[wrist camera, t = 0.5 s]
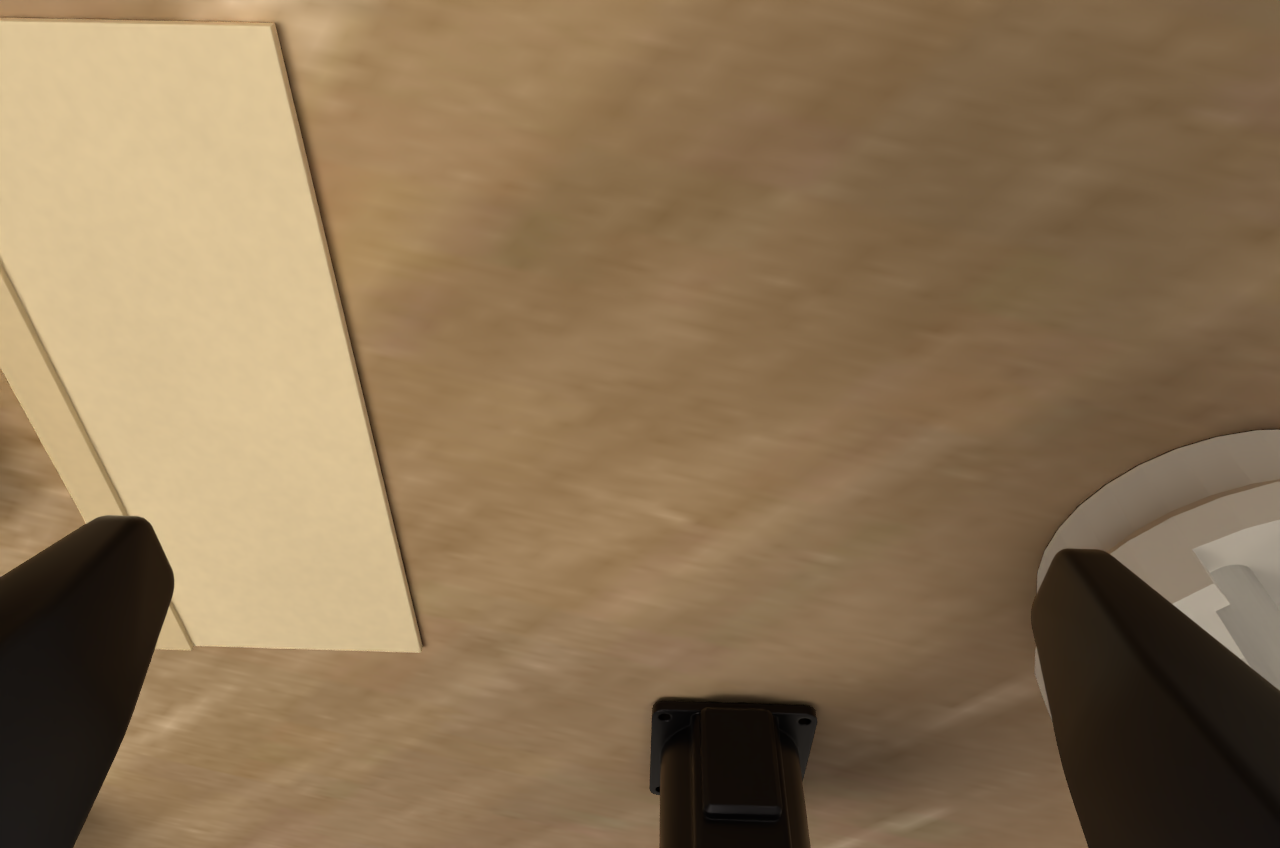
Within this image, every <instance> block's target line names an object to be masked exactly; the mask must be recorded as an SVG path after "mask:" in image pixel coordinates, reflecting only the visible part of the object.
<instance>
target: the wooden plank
mask: <svg viewBox="0 0 1280 848" xmlns="http://www.w3.org/2000/svg"><path fill="white" fill-rule="evenodd" d="M0 368H1V370H2V372H3V374H4V375H5V377H6V379H7V381H8V383H9V385H10V386H11V388H12V390H13V392H14V394H15V395H16V397H17V399H18V401H19V403H20V405H21V406H22V408H23V410H24V412H25V414H26V415H27V417H28V419H29V421H30V423H31V425H32V426H33V428H34V430H35V432H36V434H37V435H38V437H39V439H40V441H41V443H42V444H43V446H44V448H45V450H46V452H47V454H48V455H49V457H50V459H51V461H52V463H53V464H54V466H55V468H56V470H57V472H58V474H59V475H60V477H61V479H62V481H63V483H64V484H65V486H66V488H67V490H68V492H69V494H70V495H71V497H72V499H73V501H74V503H75V504H76V506H77V508H78V510H79V512H80V513H81V515H82V517H83V519H84V521H85V523H86V524H87V523H88V522H90V521H92V520H93V519H95V518H97V517H100V516H105V515H119V516H139V517H143V518H145V519H146V520H147V521H148V522H150V523H151V525H152V527H153V529H154V531H155V533H156V535H157V537H158V540H159V542H160V544H161V546H162V548H163V550H164V552H165V555H166V557H167V559H168V561H169V563H170V565H171V567H172V570H173V574H174V592H173V596H172V600H171V602H170V605H169V608H168V611H167V614H166V617H165V620H164V623H163V626H162V629H161V632H160V635H159V638H158V641H157V644H156V647H155V649H163V650H192V649H193V647H194V646H215V647H248V648H281V649H314V650H347V651H380V652H413V653H421V651H422V647H423V646H422V642H421V638H420V634H419V629H418V625H417V621H416V617H415V612H414V608H413V604H412V600H411V596H410V591H409V587H408V583H407V579H406V574H405V570H404V566H403V562H402V558H401V553H400V549H399V545H398V541H397V536H396V532H395V528H394V524H393V520H392V515H391V511H390V507H389V503H388V498H387V494H386V490H385V486H384V482H383V477H382V473H381V469H380V465H379V461H378V456H377V452H376V448H375V444H374V439H373V435H372V431H371V427H370V423H369V418H368V414H367V410H366V406H365V401H364V397H363V393H362V389H361V385H360V380H359V376H358V372H357V368H356V363H355V359H354V355H353V351H352V347H351V342H350V338H349V334H348V330H347V325H346V321H345V317H344V313H343V309H342V304H341V300H340V296H339V292H338V287H337V283H336V279H335V275H334V271H333V266H332V262H331V258H330V254H329V249H328V245H327V241H326V237H325V233H324V228H323V224H322V220H321V216H320V211H319V207H318V203H317V199H316V195H315V190H314V186H313V182H312V178H311V173H310V169H309V165H308V161H307V157H306V152H305V148H304V144H303V140H302V135H301V131H300V127H299V123H298V119H297V114H296V110H295V106H294V102H293V98H292V93H291V89H290V85H289V81H288V76H287V72H286V68H285V64H284V60H283V55H282V51H281V47H280V43H279V38H278V34H277V30H276V26H275V23H260V22H207V21H154V20H100V19H47V18H0Z"/></svg>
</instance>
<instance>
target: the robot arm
mask: <svg viewBox="0 0 1280 848" xmlns="http://www.w3.org/2000/svg"><path fill="white" fill-rule="evenodd" d="M173 592H174V574H173V570H172V567H171V565H170V563H169V561H168V559H167V557H166V555H165V552H164V550H163V548H162V546H161V544H160V542H159V540H158V537H157V535H156V533H155V531H154V529H153V527H152V525H151V523H150V522H148V521H147V520H146V519H145V518H143V517H139V516H119V515H105V516H100V517H97V518H95V519H93V520H92V521H90V522H88V523H87V524H85V525H83V526H82V527H80V528H79V529H77V530H75V531H74V532H72V533H71V534H69V535H67V536H66V537H64V538H63V539H61V540H59V541H58V542H56V543H55V544H53V545H51V546H50V547H48V548H47V549H45V550H43V551H42V552H40V553H39V554H37V555H35V556H34V557H32V558H31V559H29V560H27V561H26V562H24V563H23V564H21V565H19V566H18V567H16V568H15V569H13V570H11V571H10V572H8V573H7V574H5V575H3V576H2V577H0V848H73V846H74V844H75V842H76V840H77V838H78V836H79V834H80V831H81V829H82V827H83V825H84V823H85V821H86V818H87V816H88V814H89V812H90V810H91V808H92V806H93V803H94V801H95V799H96V797H97V795H98V793H99V790H100V788H101V786H102V784H103V782H104V780H105V778H106V775H107V773H108V771H109V769H110V767H111V765H112V762H113V760H114V758H115V756H116V754H117V751H118V749H119V747H120V744H121V742H122V740H123V738H124V735H125V733H126V730H127V727H128V725H129V722H130V719H131V717H132V714H133V711H134V709H135V706H136V703H137V700H138V697H139V694H140V691H141V688H142V685H143V682H144V679H145V676H146V673H147V670H148V667H149V664H150V661H151V658H152V655H153V653H154V650H155V647H156V644H157V641H158V638H159V635H160V632H161V629H162V626H163V623H164V620H165V617H166V614H167V611H168V608H169V605H170V602H171V600H172V596H173ZM1031 622H1032V629H1033V633H1034V638H1035V643H1036V647H1037V652H1038V657H1039V661H1040V666H1041V671H1042V676H1043V680H1044V685H1045V690H1046V694H1047V699H1048V704H1049V708H1050V713H1051V718H1052V722H1053V727H1054V732H1055V736H1056V741H1057V746H1058V750H1059V754H1060V758H1061V762H1062V766H1063V770H1064V773H1065V777H1066V780H1067V783H1068V787H1069V790H1070V793H1071V796H1072V799H1073V802H1074V805H1075V808H1076V811H1077V814H1078V817H1079V820H1080V823H1081V826H1082V829H1083V832H1084V835H1085V838H1086V841H1087V844H1088V847H1089V848H1280V690H1278V689H1277V688H1276V687H1275V686H1273V685H1272V684H1271V683H1270V682H1269V681H1267V680H1266V679H1265V678H1264V677H1262V676H1261V675H1260V674H1259V673H1257V672H1256V671H1255V670H1254V669H1252V668H1251V667H1250V666H1249V665H1247V664H1246V663H1245V662H1244V661H1242V660H1241V659H1240V658H1239V657H1237V656H1236V655H1235V654H1234V653H1233V652H1231V651H1230V650H1229V649H1228V648H1226V647H1225V646H1224V645H1223V644H1221V643H1220V642H1219V641H1218V640H1216V639H1215V638H1214V637H1213V636H1211V635H1210V634H1209V633H1208V632H1206V631H1205V630H1204V629H1203V628H1201V627H1200V626H1199V625H1198V624H1196V623H1195V622H1194V621H1193V620H1192V619H1190V618H1189V617H1188V616H1187V615H1185V614H1184V613H1183V612H1182V611H1180V610H1179V609H1178V608H1177V607H1175V606H1174V605H1173V604H1172V603H1170V602H1169V601H1168V600H1167V599H1165V598H1164V597H1163V596H1162V595H1160V594H1159V593H1158V592H1157V591H1156V590H1154V589H1153V588H1152V587H1151V586H1149V585H1148V584H1147V583H1146V582H1144V581H1143V580H1142V579H1141V578H1139V577H1138V576H1137V575H1136V574H1134V573H1133V572H1132V571H1131V570H1129V569H1128V568H1127V567H1126V566H1124V565H1123V564H1122V563H1121V562H1120V561H1118V560H1117V559H1116V558H1115V557H1113V556H1112V555H1110V554H1109V553H1107V552H1105V551H1102V550H1098V549H1073V548H1066V549H1062V550H1060V551H1059V552H1058V553H1056V554H1055V556H1054V558H1053V559H1052V562H1051V564H1050V566H1049V568H1048V570H1047V573H1046V575H1045V577H1044V579H1043V581H1042V583H1041V586H1040V588H1039V590H1038V592H1037V594H1036V597H1035V599H1034V602H1033V605H1032V611H1031ZM816 725H817V717H816V710H815V709H814V708H813V707H810V706H805V705H775V704H742V703H710V702H678V701H660V702H658V703H656V704H654V705H653V708H652V733H651V762H650V791H651V792H652V793H653V794H656V795H660V848H811V847H810V839H809V831H808V823H807V815H806V807H805V799H804V791H803V783H802V782H803V778H804V774H805V770H806V766H807V762H808V757H809V753H810V749H811V745H812V741H813V737H814V733H815V729H816Z"/></svg>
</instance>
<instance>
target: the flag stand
mask: <svg viewBox="0 0 1280 848" xmlns="http://www.w3.org/2000/svg"><path fill="white" fill-rule="evenodd" d="M1066 548H1073V549H1098V550H1102V551H1105V552H1107V553H1109V554H1110V555H1112V556H1113V557H1115V558H1116V559H1117V560H1118V561H1120V562H1121V563H1122V564H1123V565H1124V566H1126V567H1127V568H1128V569H1129V570H1131V571H1132V572H1133V573H1134V574H1136V575H1137V576H1138V577H1139V578H1141V579H1142V580H1143V581H1144V582H1146V583H1147V584H1148V585H1149V586H1151V587H1152V588H1153V589H1154V590H1156V591H1157V592H1158V593H1159V594H1160V595H1162V596H1163V597H1164V598H1165V599H1167V600H1168V601H1169V602H1170V603H1172V604H1173V605H1174V606H1175V607H1177V608H1178V609H1179V610H1180V611H1182V612H1183V613H1184V614H1185V615H1187V616H1188V617H1189V618H1190V619H1192V620H1193V621H1194V622H1195V623H1196V624H1198V625H1199V626H1200V627H1201V628H1203V629H1204V630H1205V631H1206V632H1208V633H1209V634H1210V635H1211V636H1213V637H1214V638H1215V639H1216V640H1218V641H1219V642H1220V643H1221V644H1223V645H1224V646H1225V647H1226V648H1228V649H1229V650H1230V651H1231V652H1233V653H1234V654H1235V655H1236V656H1237V657H1239V658H1240V659H1241V660H1242V661H1244V662H1245V663H1246V664H1247V665H1249V666H1250V667H1251V668H1252V669H1254V670H1255V671H1256V672H1257V673H1259V674H1260V675H1261V676H1262V677H1264V678H1265V679H1266V680H1267V681H1269V682H1270V683H1271V684H1272V685H1273V686H1275V687H1276V688H1277V689H1278V690H1280V429H1279V430H1255V431H1249V432H1243V433H1237V434H1231V435H1225V436H1219V437H1215V438H1211V439H1208V440H1205V441H1201V442H1198V443H1195V444H1191V445H1188V446H1185V447H1181V448H1178V449H1175V450H1173V451H1171V452H1168V453H1166V454H1164V455H1161V456H1159V457H1157V458H1154V459H1152V460H1150V461H1148V462H1145V463H1143V464H1141V465H1139V466H1137V467H1135V468H1134V469H1132V470H1130V471H1128V472H1127V473H1125V474H1123V475H1122V476H1120V477H1118V478H1117V479H1115V480H1113V481H1112V482H1110V483H1108V484H1107V485H1105V486H1104V487H1103V488H1101V489H1100V490H1099V491H1098V492H1096V493H1095V494H1094V495H1093V496H1091V497H1090V498H1089V499H1088V500H1086V501H1085V502H1084V503H1082V504H1081V505H1080V506H1079V507H1078V508H1077V509H1076V510H1075V511H1074V512H1073V513H1072V515H1071V516H1070V517H1069V518H1068V519H1067V520H1066V521H1065V522H1064V523H1063V524H1062V525H1061V526H1060V527H1059V529H1058V530H1057V532H1056V533H1055V535H1054V537H1053V538H1052V540H1051V542H1050V543H1049V545H1048V546H1047V548H1046V550H1045V551H1044V554H1043V557H1042V560H1041V563H1040V566H1039V569H1038V573H1037V592H1038V590H1039V588H1040V586H1041V583H1042V581H1043V579H1044V577H1045V575H1046V573H1047V570H1048V568H1049V566H1050V564H1051V562H1052V559H1053V558H1054V556H1055V554H1056V553H1058V552H1059V551H1060V550H1062V549H1066ZM1035 677H1036V679H1037V682H1038V685H1039V688H1040V691H1041V694H1042V697H1043V699H1044V702H1045V704H1046V707H1047V710H1048V712H1049V715H1050V717H1051V713H1050V708H1049V704H1048V699H1047V694H1046V690H1045V685H1044V680H1043V676H1042V671H1041V666H1040V661H1039V657H1038V652H1037V647H1036V649H1035ZM1051 720H1052V718H1051Z"/></svg>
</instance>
